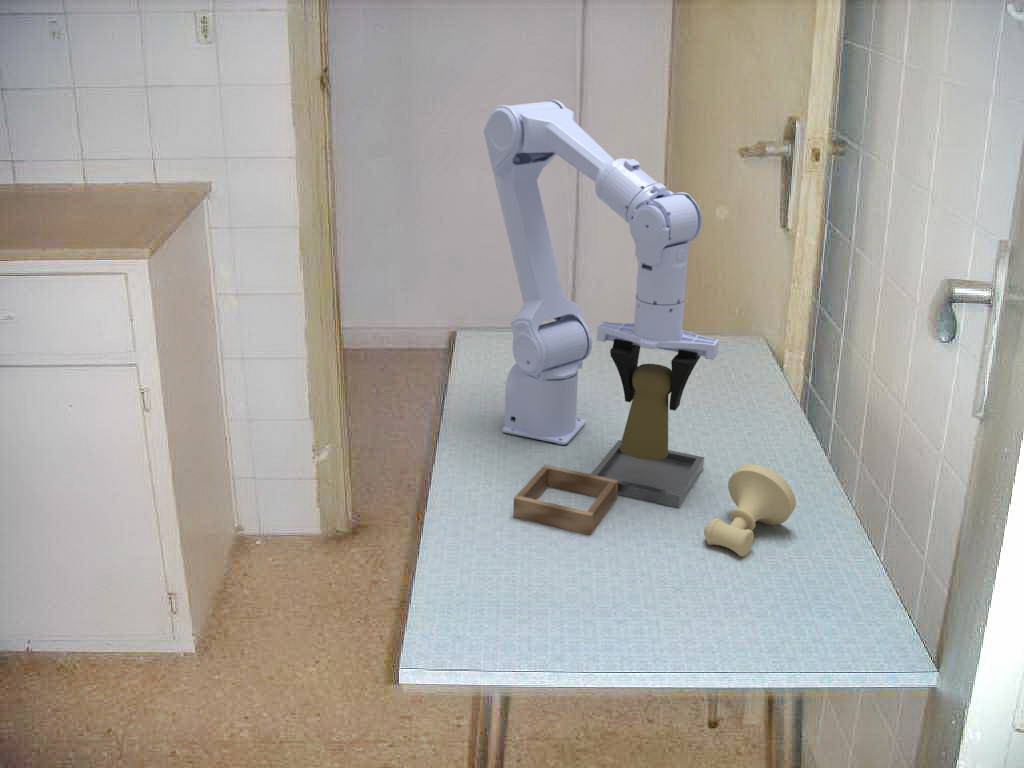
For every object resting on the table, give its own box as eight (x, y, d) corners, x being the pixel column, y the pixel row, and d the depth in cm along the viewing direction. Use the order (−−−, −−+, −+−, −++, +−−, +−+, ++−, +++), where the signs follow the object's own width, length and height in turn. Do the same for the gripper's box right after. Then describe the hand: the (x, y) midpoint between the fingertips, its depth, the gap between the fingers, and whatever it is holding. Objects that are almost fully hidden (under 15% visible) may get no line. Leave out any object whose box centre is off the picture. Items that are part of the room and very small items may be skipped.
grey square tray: (587, 488, 135) (588, 476, 134) (617, 450, 144) (618, 440, 144) (678, 508, 130) (679, 496, 130) (703, 468, 140) (704, 457, 140)
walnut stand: (513, 516, 128) (513, 498, 127) (544, 482, 136) (544, 464, 135) (590, 535, 124) (591, 515, 123) (617, 498, 132) (618, 480, 131)
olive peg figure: (676, 451, 136) (688, 367, 132) (654, 463, 131) (666, 377, 127) (633, 438, 139) (644, 355, 135) (610, 450, 134) (621, 365, 130)
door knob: (754, 533, 116) (688, 509, 121) (757, 583, 121) (694, 558, 125) (794, 476, 122) (731, 456, 126) (796, 526, 126) (734, 505, 131)
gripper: (590, 298, 127) (585, 404, 133) (712, 316, 122) (701, 426, 127) (610, 282, 133) (604, 384, 139) (726, 299, 128) (716, 404, 133)
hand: (652, 403), depth 133 cm, fingers closed on olive peg figure, 5 cm apart
